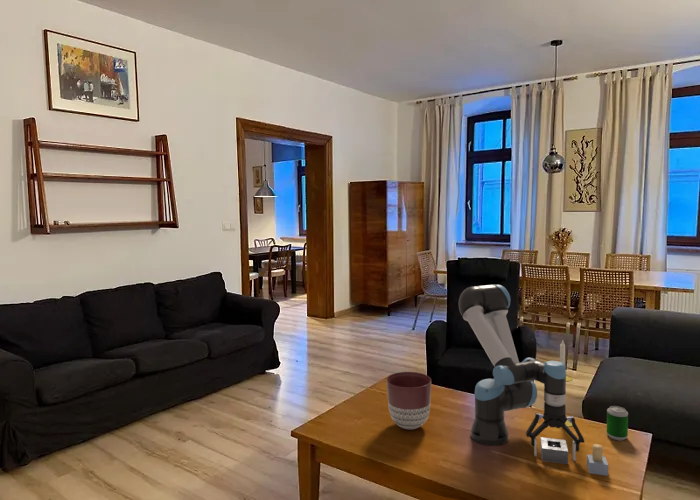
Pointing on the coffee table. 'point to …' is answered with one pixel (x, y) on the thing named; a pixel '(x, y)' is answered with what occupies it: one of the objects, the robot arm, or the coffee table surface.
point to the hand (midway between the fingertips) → (554, 456)
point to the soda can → (617, 423)
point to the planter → (409, 398)
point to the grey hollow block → (554, 450)
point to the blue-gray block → (597, 461)
